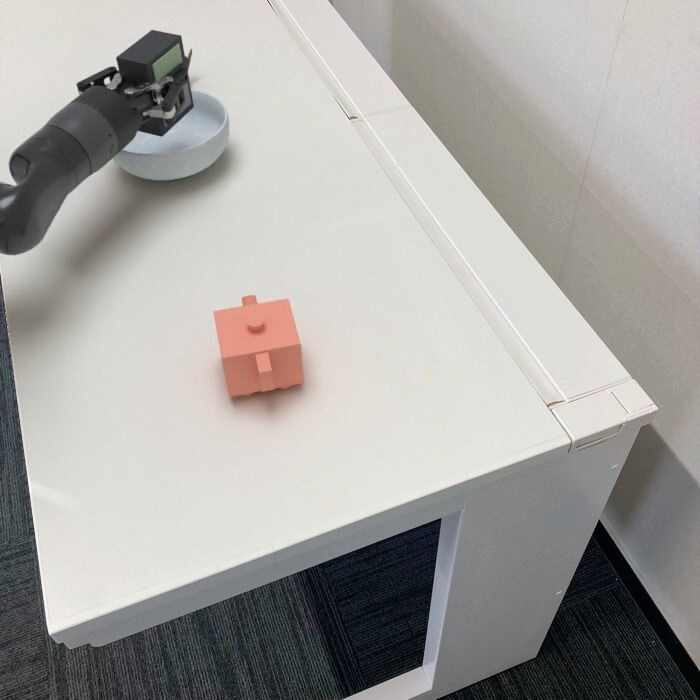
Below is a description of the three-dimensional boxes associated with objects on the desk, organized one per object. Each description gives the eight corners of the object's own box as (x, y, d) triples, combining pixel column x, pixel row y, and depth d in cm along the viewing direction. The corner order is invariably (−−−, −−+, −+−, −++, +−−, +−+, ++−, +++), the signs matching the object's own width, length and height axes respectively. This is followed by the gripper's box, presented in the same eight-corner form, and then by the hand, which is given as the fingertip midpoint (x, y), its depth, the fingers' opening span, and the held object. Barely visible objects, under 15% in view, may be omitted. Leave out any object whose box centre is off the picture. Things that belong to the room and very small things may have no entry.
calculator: (133, 130, 101) (115, 57, 94) (166, 100, 106) (151, 29, 99) (163, 137, 100) (147, 64, 92) (195, 107, 105) (182, 35, 97)
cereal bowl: (202, 117, 116) (194, 74, 111) (255, 172, 107) (250, 127, 102) (94, 154, 110) (81, 109, 105) (140, 215, 101) (128, 169, 95)
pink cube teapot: (287, 323, 87) (281, 269, 81) (308, 404, 80) (304, 351, 74) (218, 335, 86) (208, 281, 80) (233, 419, 78) (222, 366, 72)
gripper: (133, 117, 85) (211, 48, 96) (28, 91, 89) (114, 28, 99) (147, 174, 91) (219, 104, 101) (48, 148, 94) (127, 82, 105)
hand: (167, 67), depth 100 cm, fingers closed on calculator, 4 cm apart
